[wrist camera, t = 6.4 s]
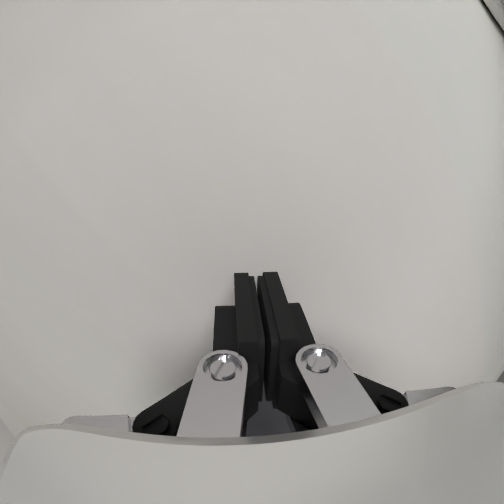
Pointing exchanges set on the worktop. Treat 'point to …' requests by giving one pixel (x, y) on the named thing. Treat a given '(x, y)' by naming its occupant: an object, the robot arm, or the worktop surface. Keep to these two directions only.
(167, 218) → the worktop surface
